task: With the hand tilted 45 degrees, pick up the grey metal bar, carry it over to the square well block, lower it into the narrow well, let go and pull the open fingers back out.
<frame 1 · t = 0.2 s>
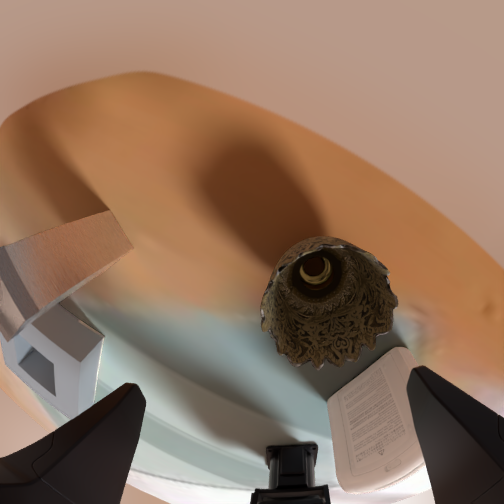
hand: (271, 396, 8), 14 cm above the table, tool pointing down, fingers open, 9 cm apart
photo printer: (368, 379, 24), on the table
square well: (55, 343, 27), on the table
metal bar: (107, 240, 22), on the table
brown ornate lampshade: (313, 264, 21), on the table
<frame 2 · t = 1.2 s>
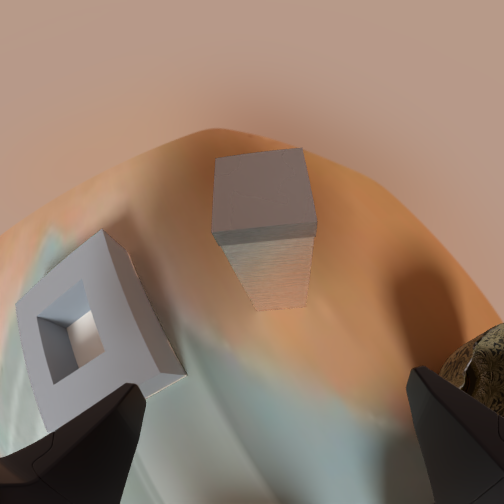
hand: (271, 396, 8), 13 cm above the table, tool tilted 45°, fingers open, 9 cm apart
square well: (99, 343, 23), on the table
metal bar: (279, 286, 23), on the table
brown ornate lampshade: (447, 385, 17), on the table
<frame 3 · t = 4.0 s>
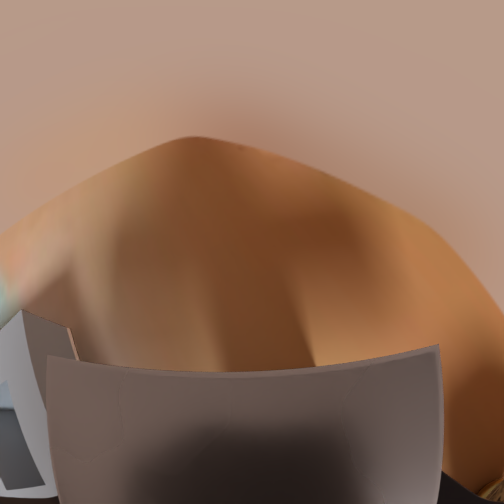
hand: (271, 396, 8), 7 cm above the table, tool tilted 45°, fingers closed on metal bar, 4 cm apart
square well: (50, 440, 13), on the table
metal bar: (282, 412, 13), on the table, touching gripper
brown ornate lampshade: (482, 498, 7), on the table
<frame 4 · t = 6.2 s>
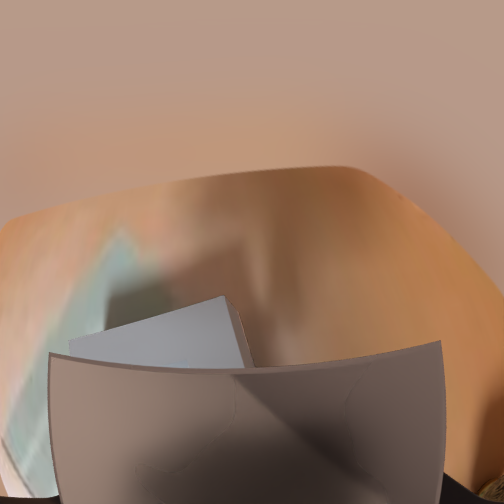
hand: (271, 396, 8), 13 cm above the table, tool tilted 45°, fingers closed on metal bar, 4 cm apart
square well: (181, 411, 19), on the table
metal bar: (283, 411, 13), point 7 cm above the table, touching gripper
brown ornate lampshade: (484, 491, 10), on the table
when the fingers open (8 cm above the table, at t = 8.6 s): metal bar stays where it is, resting on square well.
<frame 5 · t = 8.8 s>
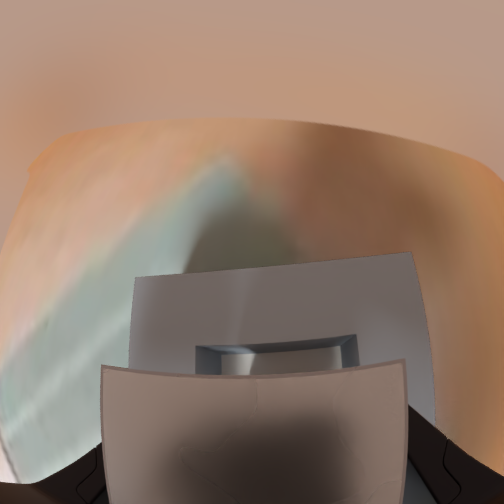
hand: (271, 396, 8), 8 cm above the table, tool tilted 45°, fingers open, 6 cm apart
square well: (283, 409, 14), on the table
metal bar: (284, 409, 14), resting on square well
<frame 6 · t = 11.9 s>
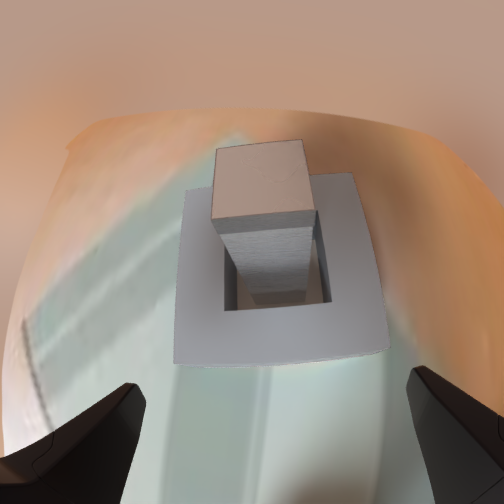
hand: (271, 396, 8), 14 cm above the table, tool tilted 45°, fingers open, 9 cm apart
square well: (278, 282, 23), on the table
metal bar: (279, 280, 23), resting on square well
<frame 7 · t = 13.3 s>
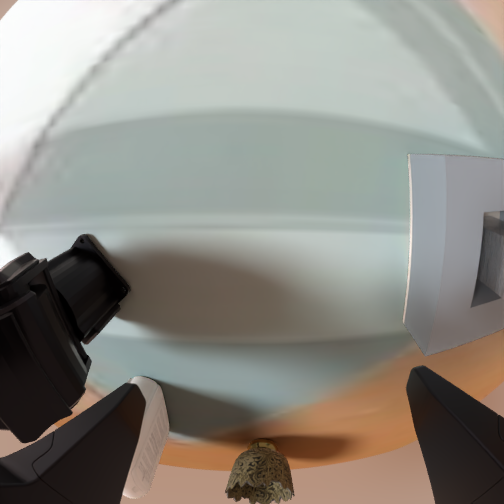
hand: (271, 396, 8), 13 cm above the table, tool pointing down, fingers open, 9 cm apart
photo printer: (152, 403, 27), on the table
square well: (472, 237, 18), on the table
metal bar: (474, 239, 18), resting on square well
brown ornate lampshade: (263, 442, 28), on the table
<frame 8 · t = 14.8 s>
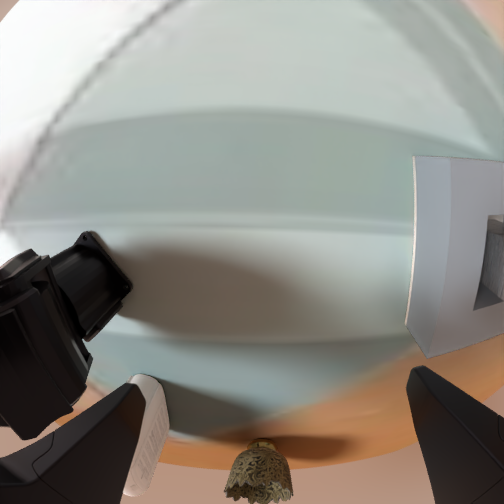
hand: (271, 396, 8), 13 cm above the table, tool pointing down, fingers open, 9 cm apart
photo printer: (152, 401, 27), on the table
square well: (475, 240, 18), on the table
metal bar: (478, 242, 18), resting on square well
brown ornate lampshade: (262, 442, 28), on the table
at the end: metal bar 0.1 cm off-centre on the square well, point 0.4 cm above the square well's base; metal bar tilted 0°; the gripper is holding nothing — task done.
